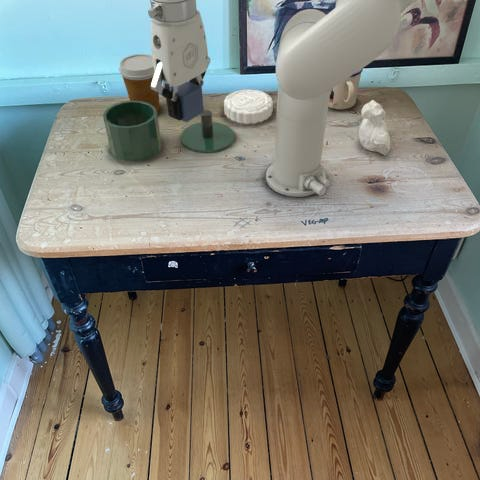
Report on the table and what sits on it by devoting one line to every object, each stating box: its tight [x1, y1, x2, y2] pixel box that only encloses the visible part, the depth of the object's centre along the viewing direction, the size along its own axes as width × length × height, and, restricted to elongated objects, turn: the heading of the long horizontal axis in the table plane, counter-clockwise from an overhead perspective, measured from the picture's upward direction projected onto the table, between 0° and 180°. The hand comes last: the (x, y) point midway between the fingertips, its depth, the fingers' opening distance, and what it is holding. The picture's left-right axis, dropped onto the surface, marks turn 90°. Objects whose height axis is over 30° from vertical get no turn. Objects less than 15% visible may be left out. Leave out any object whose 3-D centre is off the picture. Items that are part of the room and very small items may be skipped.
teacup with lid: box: [328, 67, 364, 110], centre depth 120 cm, size 12×9×12 cm
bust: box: [358, 99, 391, 156], centre depth 108 cm, size 12×8×11 cm
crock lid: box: [180, 109, 236, 154], centre depth 112 cm, size 12×12×7 cm
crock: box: [102, 100, 163, 163], centre depth 109 cm, size 11×11×8 cm
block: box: [165, 81, 205, 123], centre depth 94 cm, size 5×5×5 cm
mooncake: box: [223, 88, 274, 125], centre depth 120 cm, size 12×12×4 cm
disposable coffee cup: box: [118, 53, 160, 113], centre depth 118 cm, size 10×10×12 cm
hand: (185, 111), depth 96 cm, fingers closed on block, 5 cm apart
